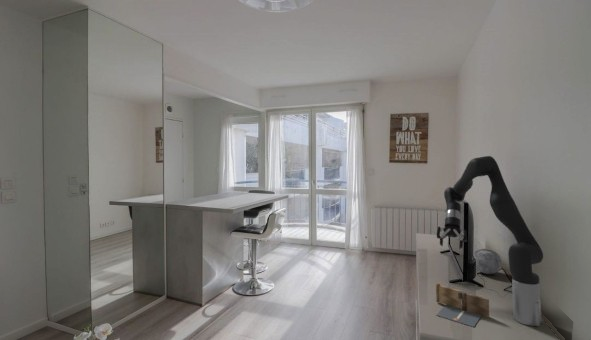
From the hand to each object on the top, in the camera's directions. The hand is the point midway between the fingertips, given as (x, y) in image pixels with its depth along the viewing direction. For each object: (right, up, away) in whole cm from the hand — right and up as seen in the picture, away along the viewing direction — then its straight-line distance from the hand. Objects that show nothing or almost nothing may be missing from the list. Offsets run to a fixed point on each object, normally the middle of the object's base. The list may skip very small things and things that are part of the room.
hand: (450, 247), depth 155 cm
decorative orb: (+36, -23, +26) cm, 50 cm away
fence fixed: (0, -25, -21) cm, 32 cm away
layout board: (-6, -25, -21) cm, 33 cm away
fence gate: (-8, -24, -13) cm, 29 cm away
